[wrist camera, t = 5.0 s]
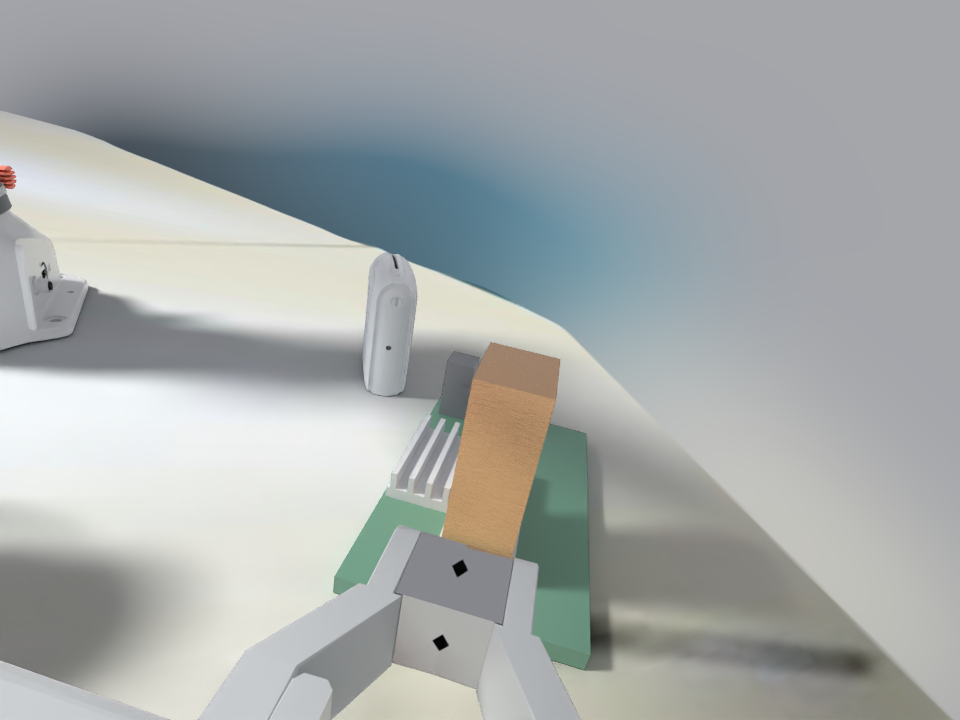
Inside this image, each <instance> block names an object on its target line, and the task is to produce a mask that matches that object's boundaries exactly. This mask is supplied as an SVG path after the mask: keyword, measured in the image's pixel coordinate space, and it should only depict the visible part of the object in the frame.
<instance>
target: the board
mask: <svg viewBox="0 0 960 720" xmlns="http://www.w3.org/2000/svg"><path fill="white" fill-rule="evenodd" d="M479 360H480V358H479V357H475V356H471V355H467V354H463V353H459V352H455V351H454V352H453V354H452V355H451V357H450V358H449V360H448V361H447V366H446V372H445V378H444V383H443V389H442V395H441V397H440V399H439V401H438V402H437V404H436V406H435V408H434V409H433V411H432V413H431V414H430V415H428V414H427V415H426V417H425V418H424V420H423V422H422V423H421V425H420V427H419V428H418V430H417V432H416V433H415V435H414V437H413V438H412V440H411V441H410V443H409V445H408V446H407V448H406V450H405V451H404V453H403V455H402V456H401V458H400V460H399V461H398V463H397V465H396V466H395V468H394V470H393V471H392V473H391V480H390V482H389V484H388V485H387V489H386V490H385V492H384V494H383V496H382V497H381V499H380V501H379V502H378V504H377V506H376V507H375V509H374V511H373V512H372V514H371V516H370V517H369V519H368V521H367V523H366V524H365V526H364V528H363V529H362V531H361V533H360V534H359V536H358V538H357V539H356V541H355V543H354V545H353V546H352V548H351V550H350V551H349V553H348V555H347V556H346V558H345V560H344V561H343V563H342V565H341V567H340V568H339V570H338V572H337V573H336V575H335V577H334V589H333V592H334V593H337V594H342V593H344V592H345V591H347V590H349V589H350V588H352V587H354V586H356V585H357V584H359V583H361V584H365V585H367V583H368V581H369V579H370V577H371V575H372V574H373V572H374V570H375V568H376V566H377V564H378V562H379V560H380V558H381V556H382V554H383V552H384V550H385V548H386V546H387V544H388V542H389V540H390V538H391V536H392V534H393V532H394V530H395V529H396V528H397V527H398V526H399V525H403V526H406V527H409V528H412V529H415V530H419V531H424V532H427V533H430V534H433V535H437V536H440V537H442V532H443V527H444V522H445V517H446V512H447V507H448V502H449V497H450V492H451V487H452V482H453V477H454V472H455V466H456V461H457V456H458V451H459V446H460V441H461V436H462V431H463V426H464V421H465V416H466V411H467V406H468V400H469V395H470V390H471V385H472V380H473V377H474V375H475V373H476V371H477V369H478V365H479ZM512 557H513V559H514V558H518V559H522V560H525V561H529V562H533V563H536V564H538V567H539V572H538V582H537V591H536V601H535V611H534V621H533V631H532V635H534V636H537V637H540V639H541V641H542V643H543V645H544V647H545V649H546V651H547V653H548V655H549V657H550V659H551V660H553V661H557V662H560V663H563V664H566V665H570V666H573V667H576V668H579V669H583V670H585V667H586V665H587V663H588V660H589V658H590V656H591V647H590V597H589V546H588V495H587V445H586V433H583V432H579V431H575V430H571V429H567V428H563V427H559V426H556V425H552V424H549V426H548V430H547V434H546V437H545V441H544V444H543V448H542V451H541V455H540V458H539V462H538V465H537V469H536V472H535V476H534V479H533V483H532V486H531V490H530V494H529V497H528V501H527V504H526V508H525V511H524V515H523V518H522V522H521V525H520V529H519V532H518V536H517V539H516V543H515V546H514V550H513V554H512Z"/></svg>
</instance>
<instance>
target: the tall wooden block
mask: <svg viewBox="0 0 960 720" xmlns="http://www.w3.org/2000/svg"><path fill="white" fill-rule="evenodd" d="M559 367H560V359H557V358H553V357H549V356H545V355H541V354H537V353H533V352H529V351H525V350H521V349H516V348H512V347H508V346H504V345H500V344H496V343H492V342H491V343H490V345H489V347H488V349H487V351H486V353H485V355H484V357H483V359H482V361H481V363H480V365H479V367H478V369H477V371H476V373H475V375H474V377H473V380H472V385H471V390H470V395H469V400H468V406H467V411H466V416H465V421H464V426H463V431H462V436H461V441H460V446H459V451H458V456H457V461H456V466H455V472H454V477H453V482H452V487H451V492H450V497H449V502H448V507H447V512H446V517H445V522H444V527H443V532H442V537H443V538H446V539H449V540H453V541H456V542H459V543H462V544H465V545H470V546H474V547H477V548H481V549H485V550H488V551H492V552H496V553H499V554H503V555H507V556H510V557H512V554H513V550H514V546H515V543H516V539H517V536H518V532H519V529H520V525H521V522H522V518H523V515H524V511H525V508H526V504H527V501H528V497H529V494H530V490H531V486H532V483H533V479H534V476H535V472H536V469H537V465H538V462H539V458H540V455H541V451H542V448H543V444H544V441H545V437H546V434H547V430H548V426H549V423H550V419H551V416H552V412H553V409H554V405H555V402H556V396H557V386H558V376H559Z"/></svg>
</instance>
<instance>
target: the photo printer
mask: <svg viewBox="0 0 960 720" xmlns="http://www.w3.org/2000/svg"><path fill="white" fill-rule="evenodd" d="M416 305H417V286H416V280H415V277H414V274H413V271H412V269H411V267H410V265H409V263H408V262H407V261H406V260H405V259H404V258H403V257H402V256H400V255H399V254H394V255H392V254H390V253H383V254H381V255H379V256H378V257H377V258H376V259H375V260H374V261H373V263H372V264H371V267H370V272H369V285H368V297H367V309H366V320H365V330H364V341H363V373H364V382H365V386H366V389H367V390H368V391H371V392H372V393H373V394H376V395H381V396H393V395H397V394H399V393H400V392H403V390H404V387H405V383H406V378H407V371H408V364H409V357H410V350H411V343H412V335H413V328H414V320H415V312H416Z"/></svg>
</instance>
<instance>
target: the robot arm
mask: <svg viewBox="0 0 960 720" xmlns="http://www.w3.org/2000/svg"><path fill="white" fill-rule="evenodd" d="M11 169H12V168H11V167H10V166H0V350H3V349H6V348H10V347H13V346H17V345H20V344H24V343H28V342H34V341H41V340H48V339H54V338H60V337H64V336H68V335H70V334H71V333H72V332H73V330H74V327H75V324H76V322H77V319H78V316H79V313H80V311H81V308H82V305H83V302H84V299H85V297H86V294H87V291H88V284H87V281H86V280H85V279H83V278H79V277H76V276H71V275H66V274H60V273H59V268H58V263H57V258H56V254H55V250H54V247H53V244H52V242H51V240H50V239H49V238H47V237H46V236H45V235H43V234H42V233H40V232H39V231H37V230H36V229H34V228H33V227H31V226H30V225H29V224H27V223H26V222H24V221H23V220H22V219H21V218H19V217H18V216H16V215H15V214H14V213H12V212H11V211H10V210H9V209H10V208H11V207H12V205H11V203H10V201H9V198H8V196H7V194H6V192H7V190H6V188H8V189H13V188H14V187H15V184H14V183H16V180H13V179H14V178H16V176H15V175H12V174H14V173H15V172H14V171H11ZM538 572H539V567H538V564H536V563H533V562H529V561H525V560H522V559H518V558H514V559H513V557H510V556H507V555H503V554H499V553H496V552H492V551H488V550H485V549H481V548H477V547H474V546H470V545H465V544H462V543H459V542H456V541H453V540H449V539H446V538H443V537H440V536H437V535H433V534H430V533H427V532H424V531H419V530H415V529H412V528H409V527H406V526H403V525H399V526H398V527H397V528H396V529H395V530H394V532H393V534H392V536H391V538H390V540H389V542H388V544H387V546H386V548H385V550H384V552H383V554H382V556H381V558H380V560H379V562H378V564H377V566H376V568H375V570H374V572H373V574H372V575H371V577H370V579H369V581H368V583H367V585H365V584H361V583H359V584H357V585H356V586H354V587H352V588H350V589H349V590H347V591H345V592H344V593H342V594H340V595H339V596H337V597H335V598H334V599H332V600H330V601H329V602H327V603H325V604H323V605H322V606H320V607H318V608H317V609H315V610H313V611H312V612H310V613H308V614H307V615H305V616H303V617H302V618H300V619H298V620H296V621H295V622H293V623H291V624H290V625H288V626H286V627H285V628H283V629H281V630H280V631H278V632H276V633H275V634H273V635H271V636H269V637H268V638H266V639H264V640H263V641H261V642H259V643H258V644H256V645H254V646H253V647H251V648H249V649H248V650H246V651H245V653H244V654H243V655H242V657H241V658H240V660H239V661H238V663H237V664H236V666H235V667H234V668H233V670H232V671H231V673H230V674H229V676H228V677H227V678H226V680H225V681H224V683H223V684H222V686H221V687H220V689H219V690H218V691H217V693H216V694H215V696H214V697H213V699H212V700H211V702H210V703H209V704H208V706H207V707H206V709H205V710H204V712H203V713H202V714H201V716H200V717H199V719H198V720H332V719H333V718H334V717H335V716H336V715H337V714H338V713H339V712H340V711H341V710H343V709H344V708H345V707H346V706H347V705H348V704H349V703H350V702H351V701H353V700H354V699H355V698H356V697H357V696H358V695H359V694H360V693H361V692H362V691H364V690H365V689H366V688H367V687H368V686H369V685H370V684H371V683H372V682H374V681H375V680H376V679H377V678H378V677H379V676H380V675H381V674H382V673H383V672H385V671H386V670H387V669H388V668H389V667H390V666H391V663H395V664H398V665H402V666H405V667H409V668H413V669H416V670H420V671H423V672H427V673H430V674H434V673H435V674H434V675H437V676H439V677H442V678H445V679H448V680H451V681H454V682H457V683H459V684H462V685H465V686H468V687H471V688H474V689H477V690H476V694H477V697H478V701H479V705H480V708H481V712H482V715H483V719H484V720H581V719H580V717H579V715H578V713H577V711H576V709H575V707H574V705H573V703H572V701H571V699H570V697H569V695H568V693H567V691H566V689H565V687H564V685H563V683H562V681H561V679H560V677H559V675H558V673H557V671H556V669H555V667H554V665H553V663H552V661H551V659H550V657H549V655H548V653H547V651H546V649H545V647H544V645H543V643H542V641H541V639H540V637H537V636H534V635H532V631H533V621H534V611H535V601H536V591H537V582H538ZM0 720H170V719H167V718H164V717H161V716H158V715H155V714H152V713H149V712H147V711H144V710H141V709H138V708H135V707H132V706H129V705H126V704H124V703H121V702H118V701H115V700H112V699H109V698H106V697H104V696H101V695H98V694H95V693H92V692H89V691H86V690H83V689H81V688H78V687H75V686H72V685H69V684H66V683H63V682H61V681H58V680H55V679H52V678H49V677H46V676H43V675H40V674H38V673H35V672H32V671H29V670H26V669H23V668H20V667H18V666H15V665H12V664H9V663H6V662H3V661H0Z"/></svg>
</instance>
